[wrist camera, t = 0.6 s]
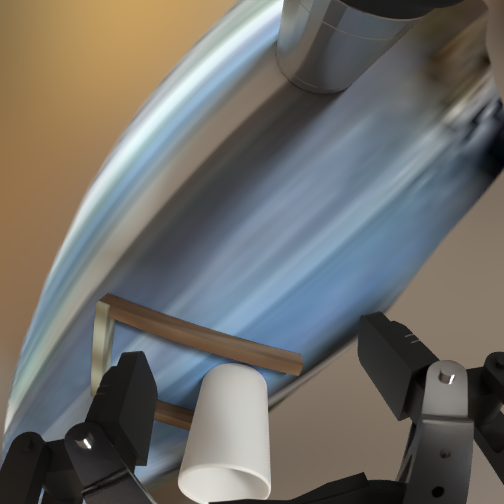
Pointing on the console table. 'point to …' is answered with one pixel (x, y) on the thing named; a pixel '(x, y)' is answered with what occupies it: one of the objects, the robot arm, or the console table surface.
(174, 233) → the console table surface
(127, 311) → the bay
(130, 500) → the robot arm
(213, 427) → the cup
